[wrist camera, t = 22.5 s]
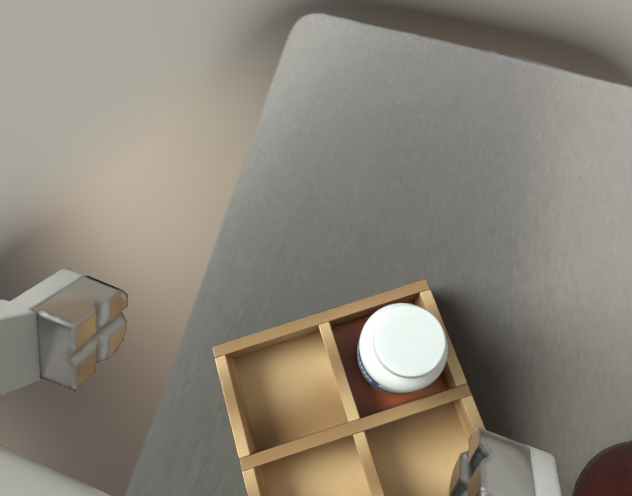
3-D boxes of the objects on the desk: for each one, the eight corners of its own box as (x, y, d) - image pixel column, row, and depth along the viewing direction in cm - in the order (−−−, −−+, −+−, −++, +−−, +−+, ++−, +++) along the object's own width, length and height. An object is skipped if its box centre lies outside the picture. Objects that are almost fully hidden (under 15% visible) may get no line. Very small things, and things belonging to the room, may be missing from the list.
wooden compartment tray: (502, 505, 34) (520, 516, 31) (280, 582, 33) (273, 602, 30) (418, 289, 39) (426, 278, 36) (222, 352, 38) (211, 346, 35)
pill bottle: (356, 319, 38) (361, 291, 29) (427, 321, 38) (456, 293, 28) (355, 393, 36) (360, 388, 27) (429, 396, 36) (461, 392, 27)
